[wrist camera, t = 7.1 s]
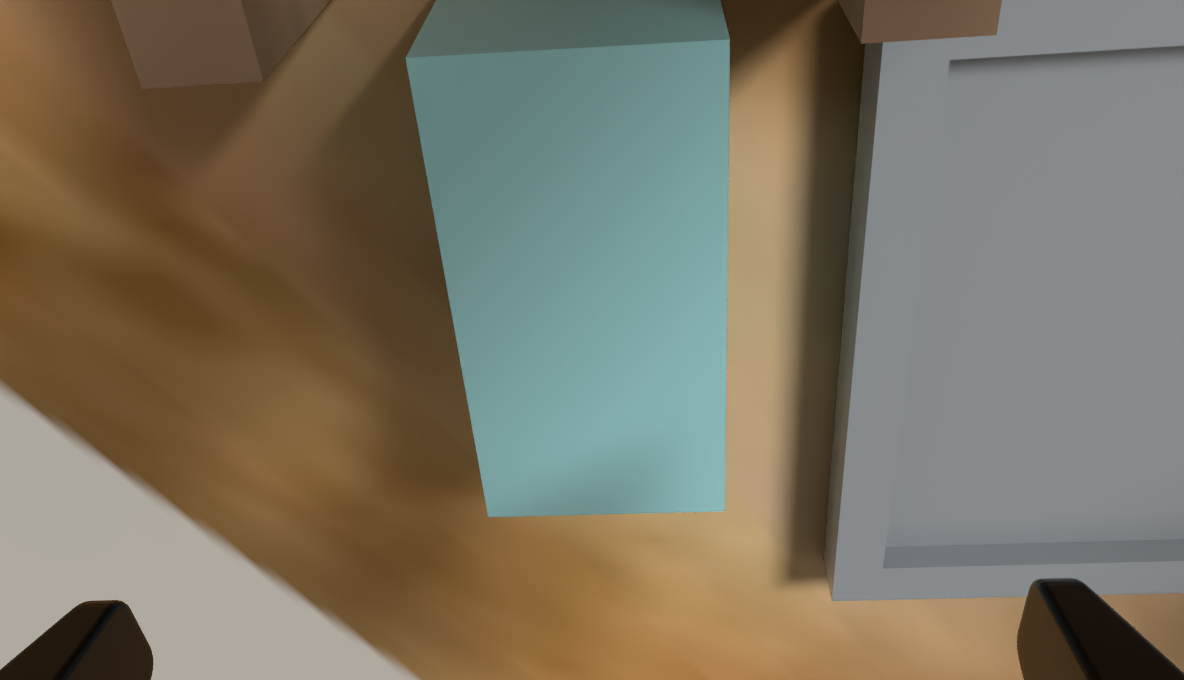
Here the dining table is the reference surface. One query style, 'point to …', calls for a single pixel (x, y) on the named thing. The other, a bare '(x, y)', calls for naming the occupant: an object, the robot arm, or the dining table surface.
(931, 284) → the tray
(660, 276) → the block
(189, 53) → the bay
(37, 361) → the dining table surface
